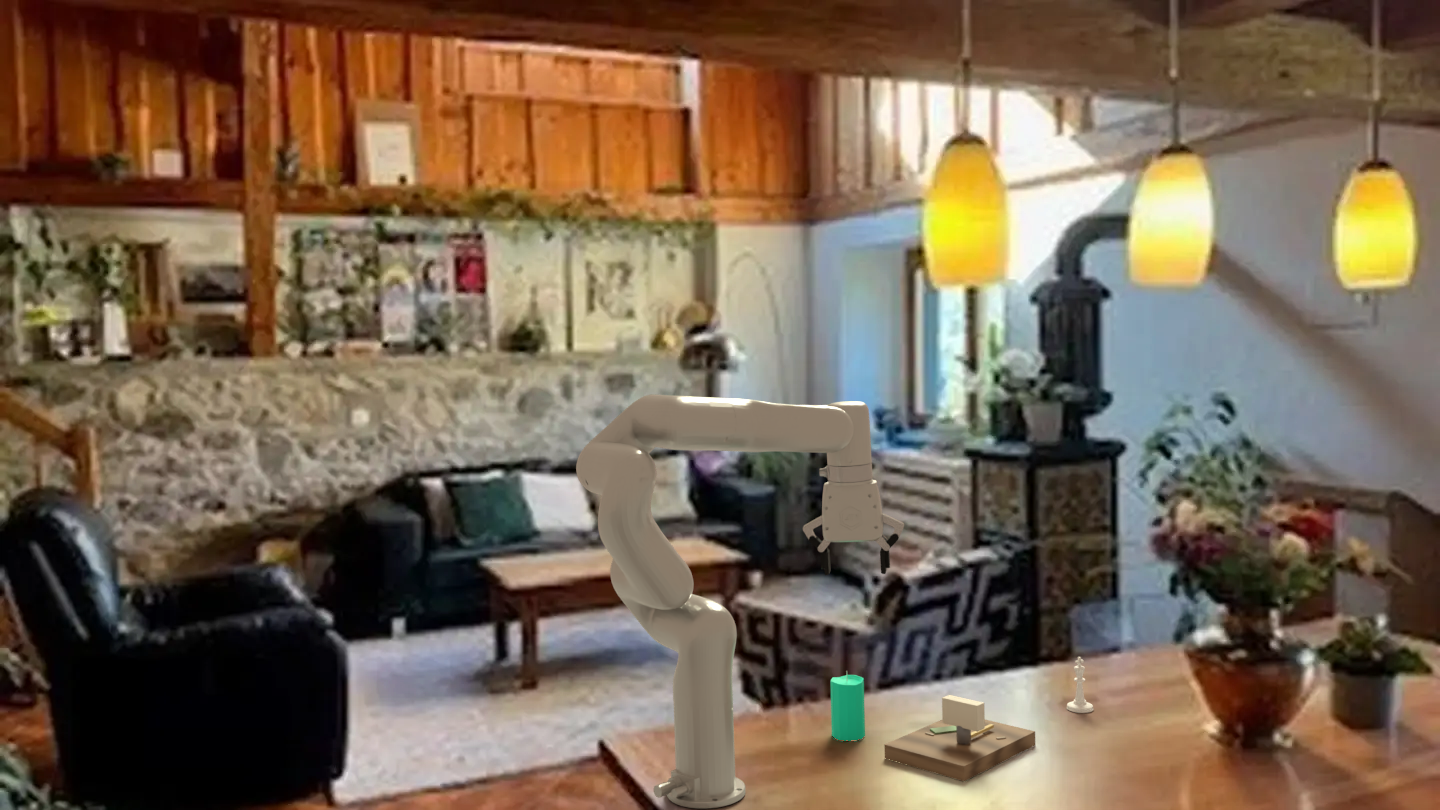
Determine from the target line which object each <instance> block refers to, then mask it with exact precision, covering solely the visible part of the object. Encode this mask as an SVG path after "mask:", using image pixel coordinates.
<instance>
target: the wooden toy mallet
mask: <svg viewBox="0 0 1440 810" xmlns="http://www.w3.org/2000/svg"><path fill="white" fill-rule="evenodd" d="M941 703H942V704H941V708H942V709H941V711H942V712H941V713H942V714H941V715H942V719H943V723H945V724H949V725H953V726H956V733H957V743H959V744H969V743H971V738H973V737H975V736H977V735H979V734H981V733H983V732H985V731H988V730H990V729H992V728H994V725H993V724H989V725H987V726H985V720H986V718H985V716H986V714H985V702H983V701H978V700H974V699H969V698H965V697H961V696H956V695H952V694H948V695H946V696H943V697H941ZM942 719H941V720H942ZM971 730H973V731H974V732H972V733H971Z"/></svg>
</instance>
